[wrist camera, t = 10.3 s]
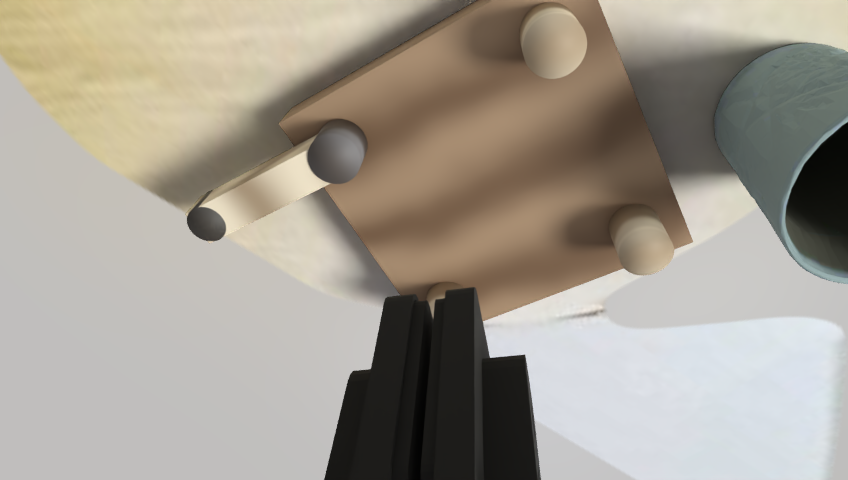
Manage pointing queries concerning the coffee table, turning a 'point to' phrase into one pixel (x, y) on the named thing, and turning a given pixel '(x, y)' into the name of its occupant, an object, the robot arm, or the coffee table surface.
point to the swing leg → (280, 181)
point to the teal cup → (794, 149)
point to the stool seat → (502, 157)
